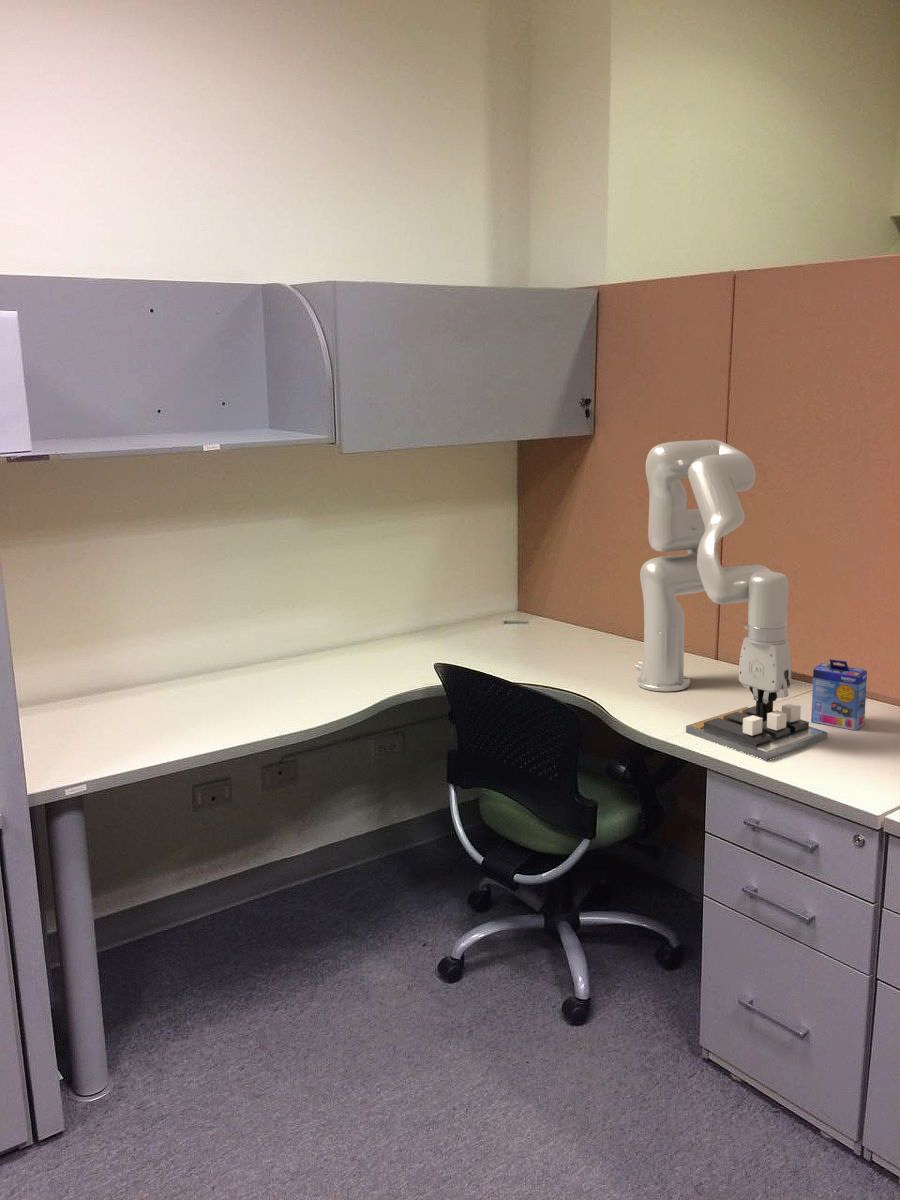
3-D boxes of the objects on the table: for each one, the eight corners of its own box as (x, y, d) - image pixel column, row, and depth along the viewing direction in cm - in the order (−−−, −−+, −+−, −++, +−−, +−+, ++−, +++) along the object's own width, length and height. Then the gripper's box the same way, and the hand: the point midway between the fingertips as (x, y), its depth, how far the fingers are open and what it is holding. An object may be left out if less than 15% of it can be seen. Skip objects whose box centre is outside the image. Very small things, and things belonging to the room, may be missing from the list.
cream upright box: (742, 732, 204) (742, 718, 203) (752, 729, 205) (752, 715, 204) (752, 735, 202) (752, 721, 201) (762, 732, 203) (762, 718, 203)
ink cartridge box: (809, 722, 217) (812, 658, 214) (818, 715, 221) (821, 651, 218) (856, 731, 211) (860, 665, 208) (865, 724, 215) (868, 658, 212)
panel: (686, 732, 214) (686, 719, 213) (745, 713, 224) (746, 700, 224) (766, 761, 197) (767, 746, 196) (827, 739, 207) (828, 725, 206)
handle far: (781, 719, 210) (781, 705, 209) (790, 716, 212) (791, 702, 211) (790, 722, 208) (791, 708, 207) (800, 719, 210) (800, 705, 209)
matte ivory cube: (766, 727, 206) (767, 713, 205) (776, 724, 207) (776, 710, 207) (776, 730, 204) (776, 716, 203) (786, 727, 205) (786, 713, 205)
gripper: (725, 629, 208) (723, 714, 212) (785, 643, 196) (782, 733, 200) (749, 623, 212) (747, 706, 216) (810, 637, 200) (806, 724, 204)
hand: (764, 719), depth 208 cm, fingers closed
